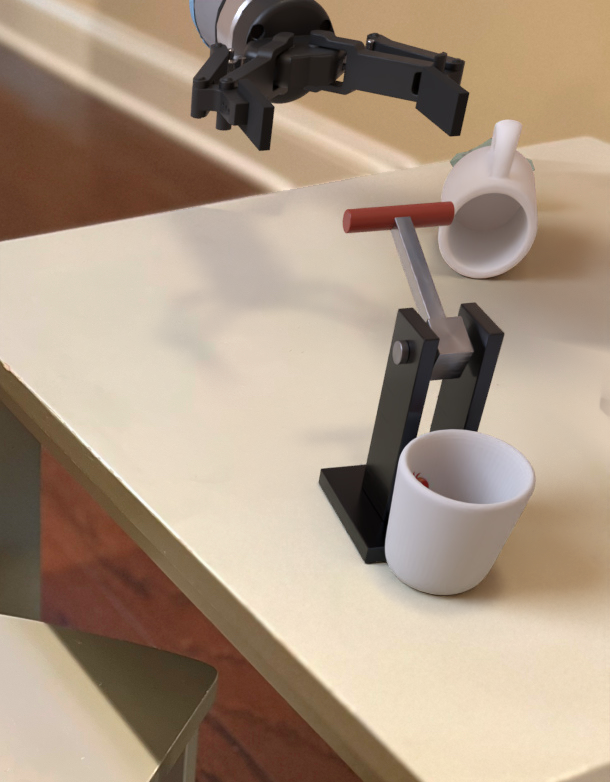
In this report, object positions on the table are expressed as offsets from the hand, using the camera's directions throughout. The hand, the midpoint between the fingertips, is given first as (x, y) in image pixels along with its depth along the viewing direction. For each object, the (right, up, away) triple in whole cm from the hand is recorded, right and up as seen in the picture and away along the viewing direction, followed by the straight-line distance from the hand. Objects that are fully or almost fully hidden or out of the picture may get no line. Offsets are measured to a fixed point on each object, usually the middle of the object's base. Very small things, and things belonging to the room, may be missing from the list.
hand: (364, 122), depth 80 cm
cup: (+4, -30, -3) cm, 31 cm away
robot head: (+23, +12, +39) cm, 47 cm away
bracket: (+3, -27, +1) cm, 27 cm away
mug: (+19, +4, +31) cm, 37 cm away
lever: (+2, -14, -5) cm, 15 cm away
